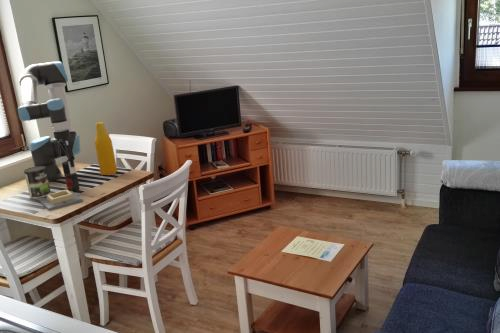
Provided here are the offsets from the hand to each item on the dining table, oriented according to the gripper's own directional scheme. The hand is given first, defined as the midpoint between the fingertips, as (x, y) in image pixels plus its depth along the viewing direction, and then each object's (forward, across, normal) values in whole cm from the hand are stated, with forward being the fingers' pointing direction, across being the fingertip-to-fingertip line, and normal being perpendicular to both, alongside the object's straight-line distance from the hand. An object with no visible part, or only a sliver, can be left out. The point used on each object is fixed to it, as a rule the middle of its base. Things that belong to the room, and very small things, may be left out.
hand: (69, 170), depth 264 cm
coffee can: (+11, -8, -15) cm, 20 cm away
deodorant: (+11, -1, 0) cm, 11 cm away
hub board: (+11, +12, -10) cm, 19 cm away
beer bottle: (+10, -15, +24) cm, 30 cm away
